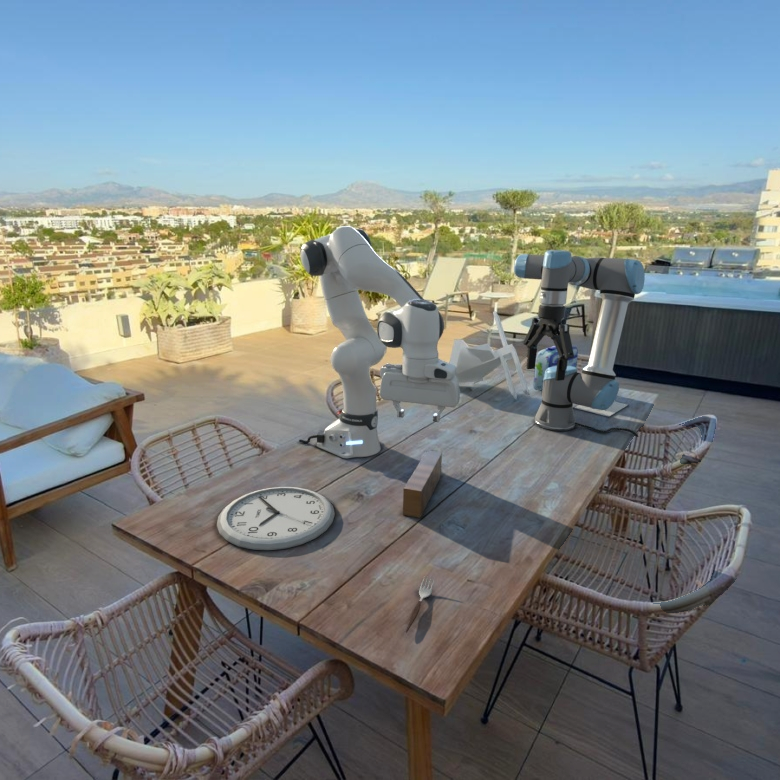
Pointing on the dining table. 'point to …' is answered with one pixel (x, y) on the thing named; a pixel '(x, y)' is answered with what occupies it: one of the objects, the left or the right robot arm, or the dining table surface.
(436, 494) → the dining table surface
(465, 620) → the dining table surface
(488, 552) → the dining table surface
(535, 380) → the lunch box
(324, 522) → the wall clock
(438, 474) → the bar
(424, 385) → the left robot arm
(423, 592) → the fork
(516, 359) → the white plastic object
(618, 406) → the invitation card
